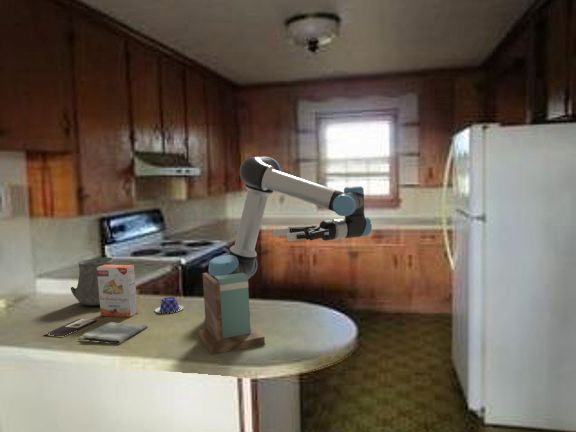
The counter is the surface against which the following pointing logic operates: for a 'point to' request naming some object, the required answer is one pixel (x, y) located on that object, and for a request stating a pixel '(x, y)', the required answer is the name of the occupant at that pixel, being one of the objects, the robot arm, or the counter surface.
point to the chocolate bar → (71, 327)
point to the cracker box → (117, 290)
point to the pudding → (169, 305)
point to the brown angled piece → (214, 323)
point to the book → (234, 304)
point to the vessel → (89, 281)
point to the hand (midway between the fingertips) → (279, 235)
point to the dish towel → (113, 332)
